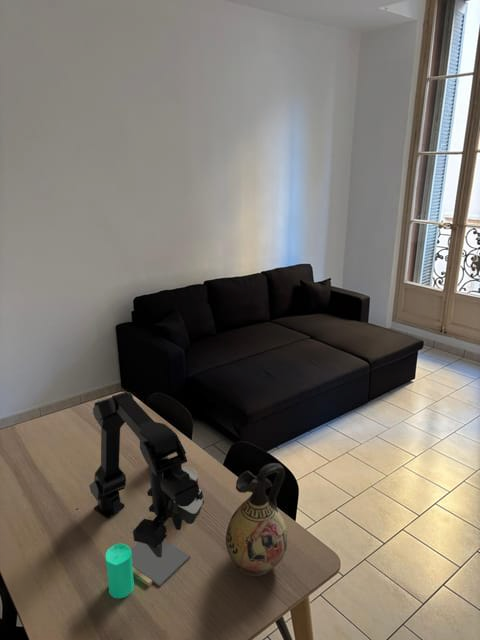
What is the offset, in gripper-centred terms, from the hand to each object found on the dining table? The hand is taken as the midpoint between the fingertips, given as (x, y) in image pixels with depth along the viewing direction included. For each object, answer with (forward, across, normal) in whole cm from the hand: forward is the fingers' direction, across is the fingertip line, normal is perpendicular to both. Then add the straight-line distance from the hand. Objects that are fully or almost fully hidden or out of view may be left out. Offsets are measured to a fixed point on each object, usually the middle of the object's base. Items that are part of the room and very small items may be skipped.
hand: (169, 542), depth 111 cm
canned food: (+12, +27, +11) cm, 32 cm away
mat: (+13, +7, +9) cm, 17 cm away
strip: (+13, +1, +11) cm, 17 cm away
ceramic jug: (+15, +16, -16) cm, 27 cm away
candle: (+13, -3, +12) cm, 19 cm away
